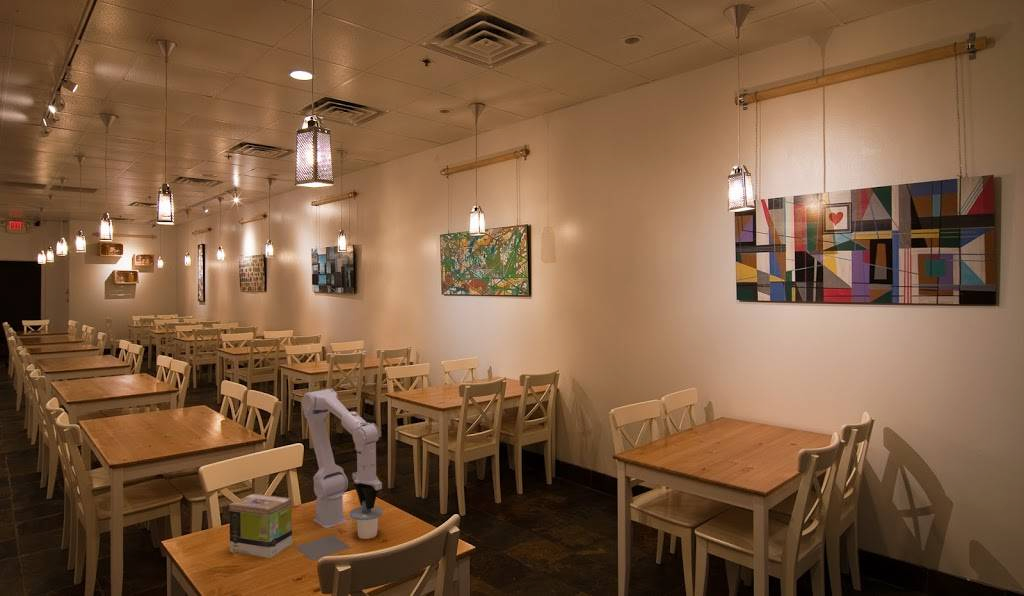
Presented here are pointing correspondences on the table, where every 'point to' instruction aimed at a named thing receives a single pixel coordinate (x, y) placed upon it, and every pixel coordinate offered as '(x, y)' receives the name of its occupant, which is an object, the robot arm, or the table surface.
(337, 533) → the table surface
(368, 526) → the white cylinder
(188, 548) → the table surface
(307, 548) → the mat
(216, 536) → the table surface
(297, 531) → the table surface
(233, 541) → the tea box
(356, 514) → the lid
